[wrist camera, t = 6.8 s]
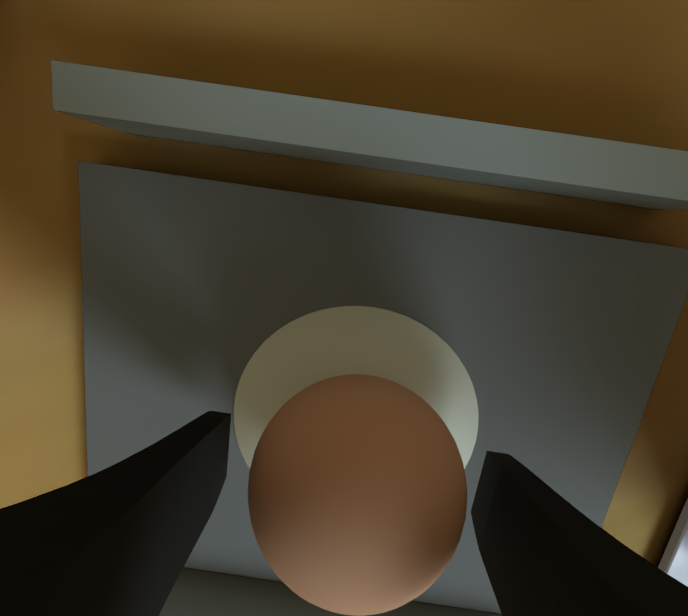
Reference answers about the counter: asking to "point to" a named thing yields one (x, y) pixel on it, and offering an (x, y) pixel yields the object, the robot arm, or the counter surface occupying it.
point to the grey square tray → (370, 152)
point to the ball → (357, 494)
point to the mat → (364, 335)
